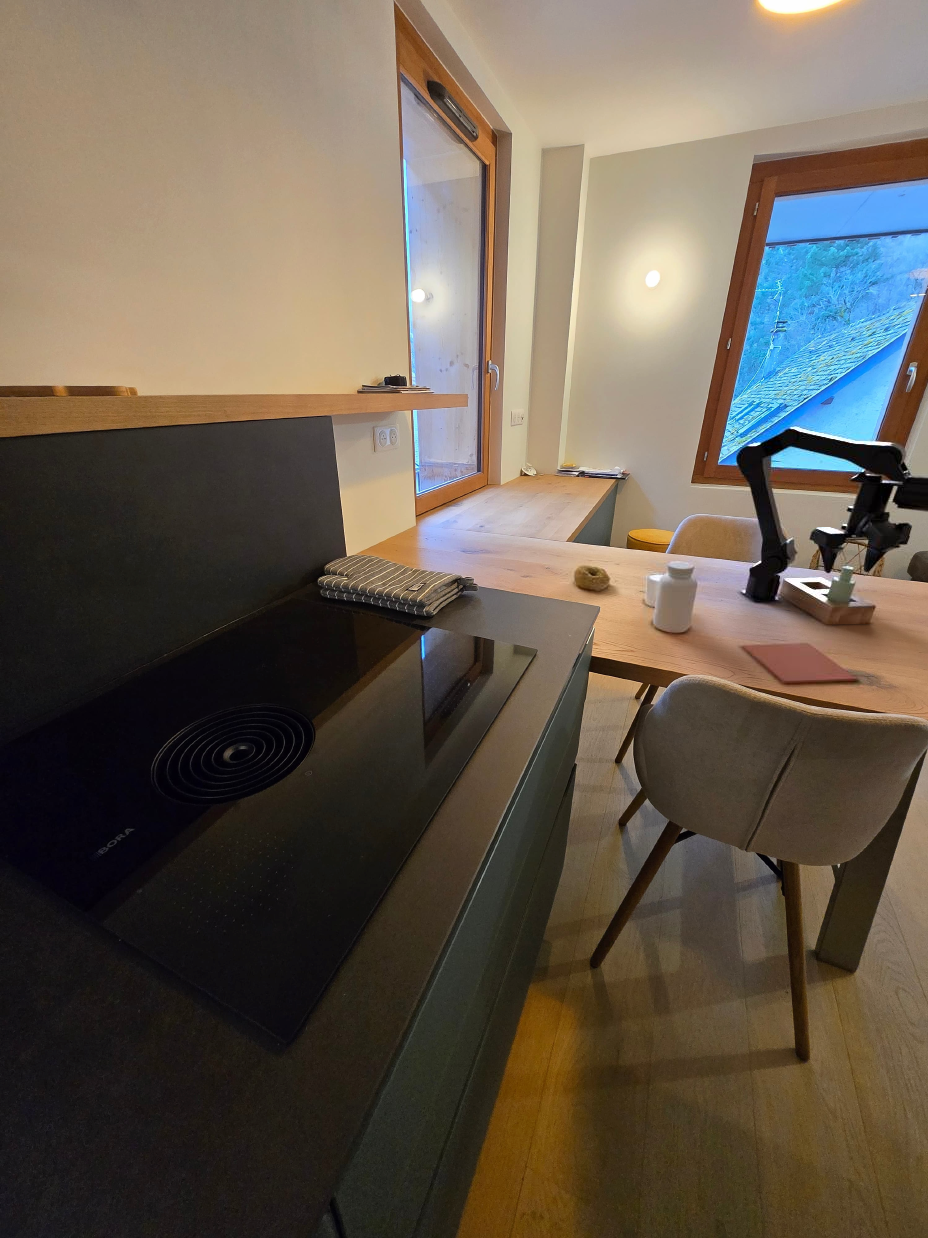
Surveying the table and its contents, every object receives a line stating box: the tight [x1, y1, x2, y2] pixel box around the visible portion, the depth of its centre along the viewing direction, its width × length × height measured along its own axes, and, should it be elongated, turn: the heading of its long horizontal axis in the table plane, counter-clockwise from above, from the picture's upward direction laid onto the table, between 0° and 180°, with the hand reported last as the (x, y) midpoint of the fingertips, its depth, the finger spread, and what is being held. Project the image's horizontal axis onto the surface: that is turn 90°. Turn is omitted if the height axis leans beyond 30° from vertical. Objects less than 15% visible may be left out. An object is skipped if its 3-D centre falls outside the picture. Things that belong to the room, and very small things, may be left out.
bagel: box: [573, 564, 611, 592], centre depth 137 cm, size 10×11×5 cm
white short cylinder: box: [644, 572, 665, 608], centre depth 125 cm, size 7×7×7 cm
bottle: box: [827, 565, 857, 602], centre depth 116 cm, size 4×4×12 cm
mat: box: [742, 642, 858, 684], centre depth 98 cm, size 14×14×1 cm
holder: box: [778, 577, 877, 626], centre depth 121 cm, size 10×18×4 cm, turn 2°
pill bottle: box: [652, 560, 698, 634], centre depth 111 cm, size 8×8×15 cm
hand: (846, 572), depth 114 cm, fingers open, 9 cm apart
